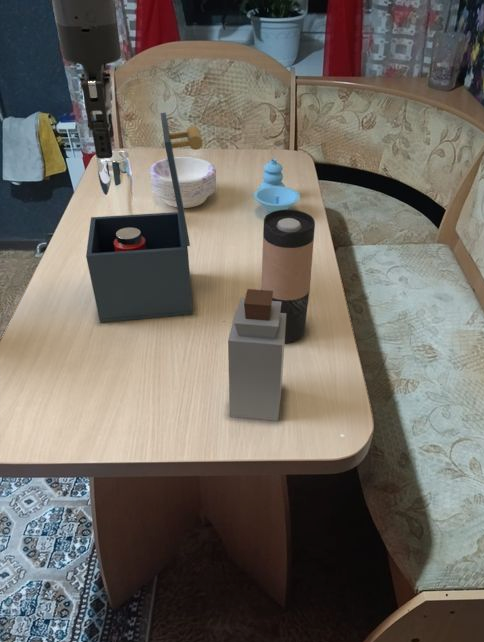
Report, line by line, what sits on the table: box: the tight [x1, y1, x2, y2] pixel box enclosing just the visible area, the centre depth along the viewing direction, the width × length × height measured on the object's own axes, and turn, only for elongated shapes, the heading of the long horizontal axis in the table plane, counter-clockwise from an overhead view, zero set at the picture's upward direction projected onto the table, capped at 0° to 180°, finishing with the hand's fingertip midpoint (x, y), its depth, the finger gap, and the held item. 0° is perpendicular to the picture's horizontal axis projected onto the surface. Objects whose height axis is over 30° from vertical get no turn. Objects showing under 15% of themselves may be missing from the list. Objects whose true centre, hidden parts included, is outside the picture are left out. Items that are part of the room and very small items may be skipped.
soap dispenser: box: [253, 158, 301, 214], centre depth 125 cm, size 18×10×9 cm, turn 5°
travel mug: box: [260, 209, 316, 344], centre depth 85 cm, size 8×8×20 cm
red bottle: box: [114, 228, 147, 252], centre depth 93 cm, size 5×5×12 cm
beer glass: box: [95, 149, 136, 216], centre depth 115 cm, size 7×7×15 cm
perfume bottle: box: [227, 288, 286, 422], centre depth 72 cm, size 7×7×18 cm
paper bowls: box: [149, 156, 217, 209], centre depth 127 cm, size 15×15×8 cm
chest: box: [85, 211, 193, 324], centre depth 94 cm, size 16×14×13 cm
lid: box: [160, 112, 203, 247], centre depth 86 cm, size 16×14×5 cm
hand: (105, 147), depth 79 cm, fingers open, 8 cm apart
